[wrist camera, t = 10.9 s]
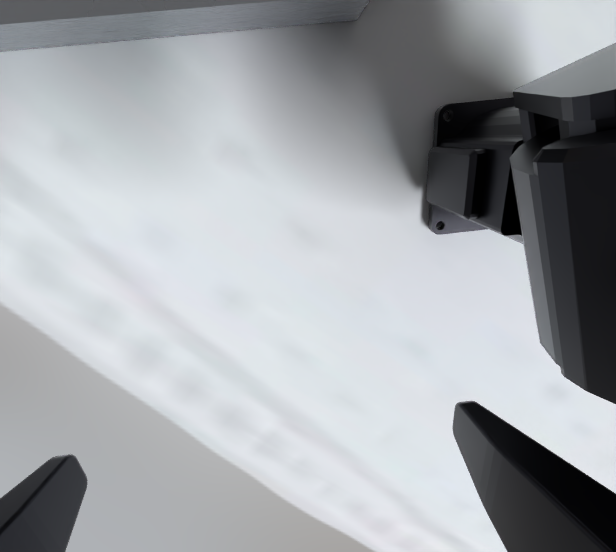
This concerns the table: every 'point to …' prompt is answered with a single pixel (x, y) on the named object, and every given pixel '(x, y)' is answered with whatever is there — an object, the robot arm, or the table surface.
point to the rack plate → (154, 18)
